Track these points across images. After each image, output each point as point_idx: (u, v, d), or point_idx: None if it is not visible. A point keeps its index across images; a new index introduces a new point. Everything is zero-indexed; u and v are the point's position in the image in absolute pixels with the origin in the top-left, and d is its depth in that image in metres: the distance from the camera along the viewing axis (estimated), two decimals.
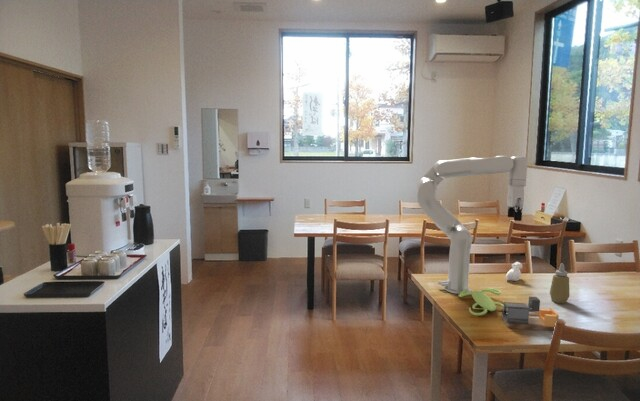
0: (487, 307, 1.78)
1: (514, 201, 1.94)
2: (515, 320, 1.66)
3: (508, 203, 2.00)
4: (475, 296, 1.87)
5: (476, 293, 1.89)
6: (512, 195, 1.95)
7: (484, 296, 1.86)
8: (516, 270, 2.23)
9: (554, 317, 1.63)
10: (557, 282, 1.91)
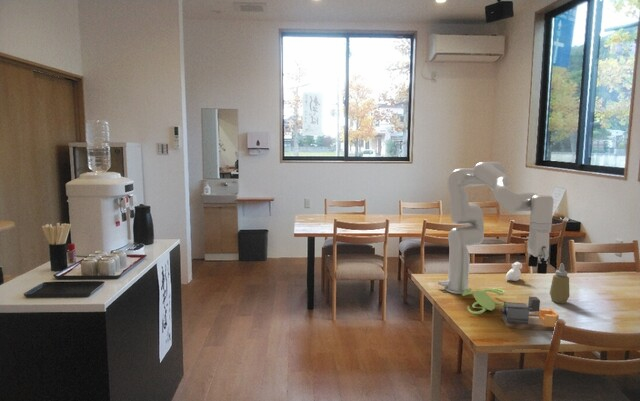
0: (486, 306, 1.79)
1: (537, 250, 1.60)
2: (515, 320, 1.66)
3: (529, 251, 1.66)
4: (476, 295, 1.88)
5: (478, 292, 1.90)
6: (535, 242, 1.61)
7: (485, 295, 1.86)
8: (516, 270, 2.23)
9: (554, 317, 1.63)
10: (557, 282, 1.91)
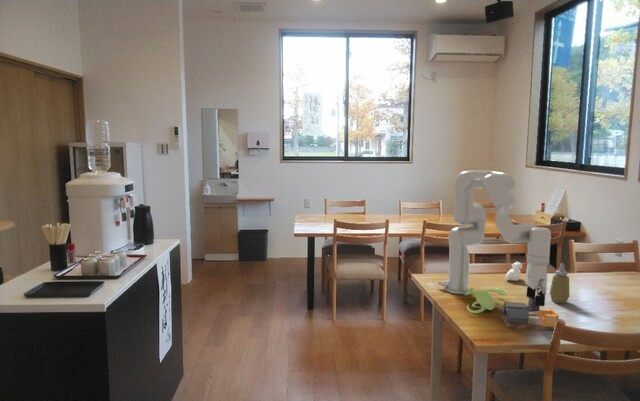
0: (485, 306, 1.80)
1: (535, 283, 1.61)
2: (515, 320, 1.66)
3: (527, 282, 1.67)
4: (477, 295, 1.89)
5: (479, 292, 1.91)
6: (533, 275, 1.62)
7: (486, 295, 1.87)
8: (516, 270, 2.23)
9: (554, 317, 1.63)
10: (557, 282, 1.91)
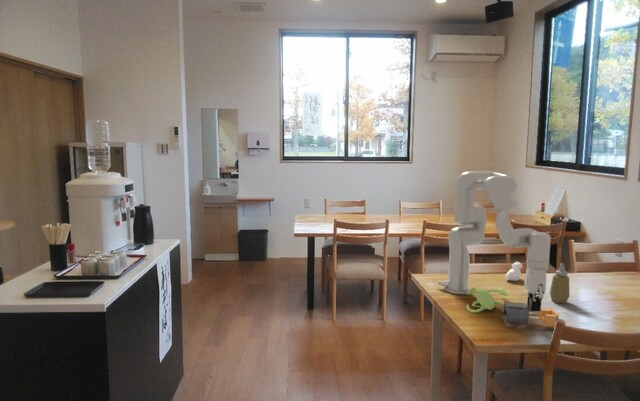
0: (485, 305, 1.81)
1: (534, 287, 1.61)
2: (515, 320, 1.66)
3: (526, 287, 1.67)
4: (478, 294, 1.89)
5: (480, 292, 1.91)
6: (532, 280, 1.62)
7: (486, 295, 1.87)
8: (516, 270, 2.23)
9: (554, 317, 1.63)
10: (557, 282, 1.91)
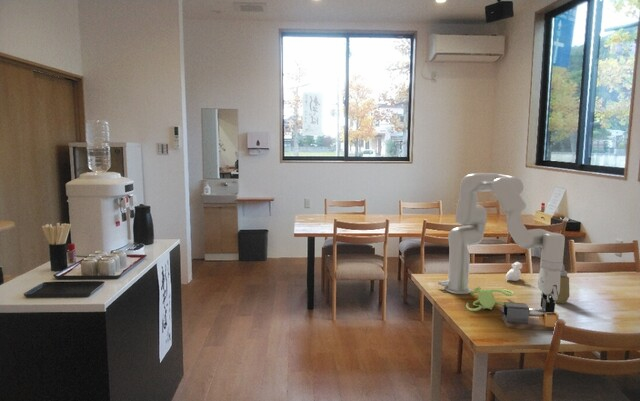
0: (484, 304, 1.82)
1: (548, 288, 1.60)
2: (515, 320, 1.66)
3: (540, 287, 1.67)
4: (480, 294, 1.90)
5: (482, 291, 1.92)
6: (546, 280, 1.62)
7: (488, 294, 1.88)
8: (516, 270, 2.23)
9: (554, 317, 1.63)
10: None
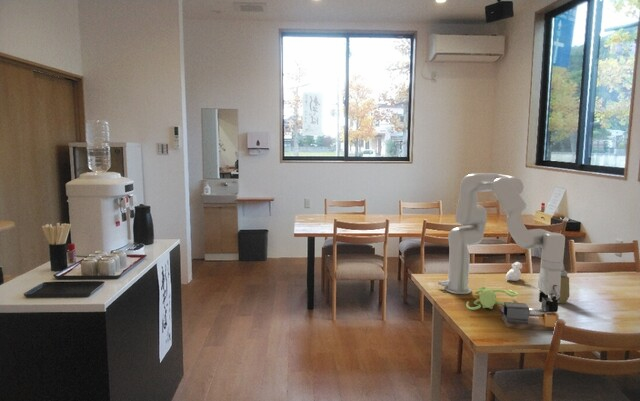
0: (483, 304, 1.82)
1: (549, 288, 1.60)
2: (515, 320, 1.66)
3: (540, 287, 1.67)
4: (482, 293, 1.91)
5: (485, 291, 1.92)
6: (546, 280, 1.62)
7: (489, 294, 1.88)
8: (516, 270, 2.23)
9: (554, 317, 1.63)
10: None
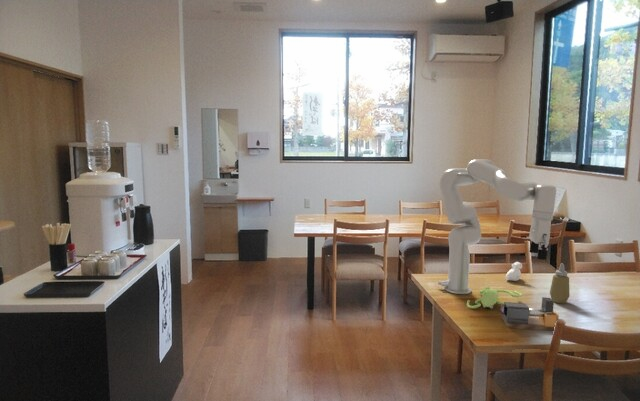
0: (483, 303, 1.83)
1: (539, 237, 1.68)
2: (515, 320, 1.66)
3: (531, 238, 1.74)
4: (484, 293, 1.92)
5: (488, 290, 1.93)
6: (536, 230, 1.69)
7: (491, 294, 1.88)
8: (516, 270, 2.23)
9: (554, 317, 1.63)
10: (557, 282, 1.91)
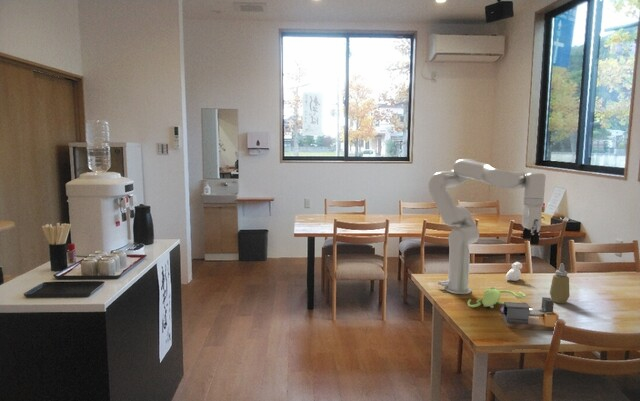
0: (483, 302, 1.84)
1: (530, 223, 1.75)
2: (515, 320, 1.66)
3: (523, 224, 1.81)
4: (486, 292, 1.92)
5: (491, 290, 1.93)
6: (528, 216, 1.76)
7: (493, 294, 1.89)
8: (516, 270, 2.23)
9: (554, 317, 1.63)
10: (557, 282, 1.91)
